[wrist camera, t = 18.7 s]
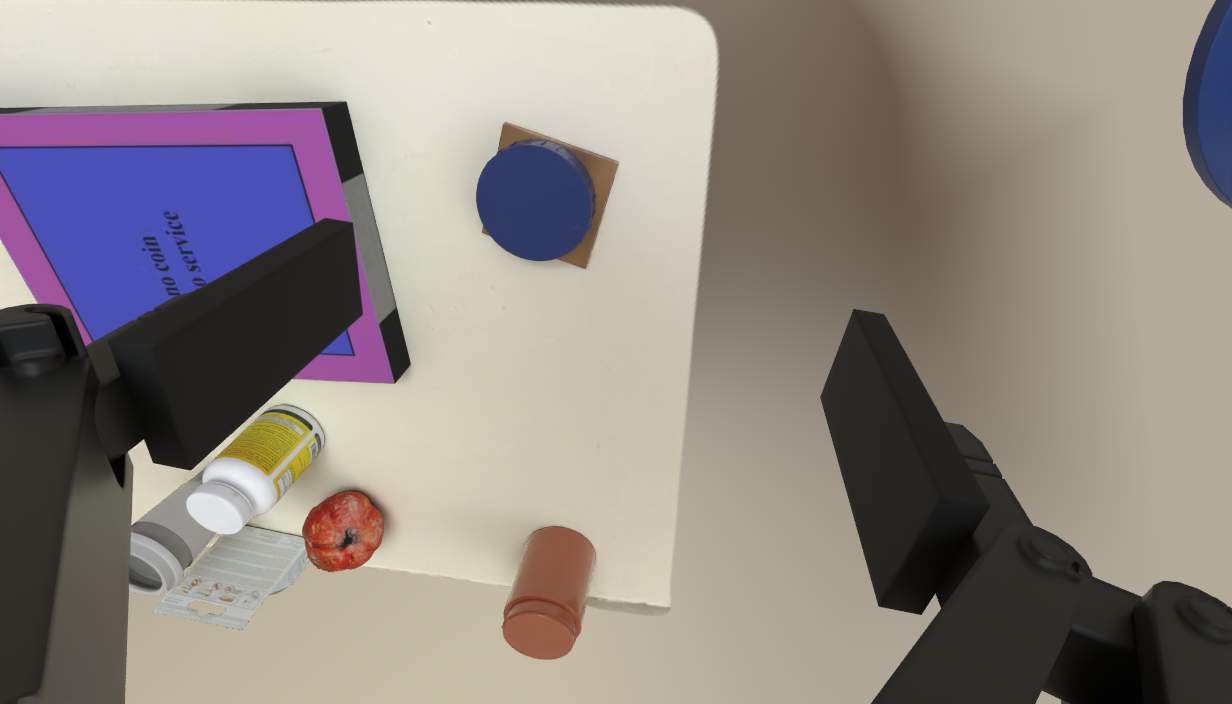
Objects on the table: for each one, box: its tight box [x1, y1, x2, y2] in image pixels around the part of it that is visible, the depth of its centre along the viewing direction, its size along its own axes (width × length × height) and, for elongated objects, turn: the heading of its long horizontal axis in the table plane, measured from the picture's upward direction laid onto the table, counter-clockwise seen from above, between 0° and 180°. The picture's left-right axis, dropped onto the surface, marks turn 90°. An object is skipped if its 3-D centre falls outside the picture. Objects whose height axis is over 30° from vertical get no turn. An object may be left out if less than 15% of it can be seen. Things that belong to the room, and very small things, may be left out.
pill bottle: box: [186, 405, 324, 535], centre depth 52 cm, size 6×6×11 cm
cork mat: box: [482, 122, 619, 269], centre depth 42 cm, size 8×8×1 cm
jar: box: [502, 527, 596, 660], centre depth 56 cm, size 7×7×10 cm
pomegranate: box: [302, 491, 384, 572], centre depth 58 cm, size 7×7×10 cm
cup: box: [129, 468, 216, 596], centre depth 57 cm, size 7×7×12 cm
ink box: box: [153, 526, 310, 630], centre depth 61 cm, size 3×9×12 cm, turn 83°
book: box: [0, 102, 411, 384], centre depth 46 cm, size 21×3×30 cm
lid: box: [476, 138, 597, 261], centre depth 41 cm, size 8×8×2 cm
